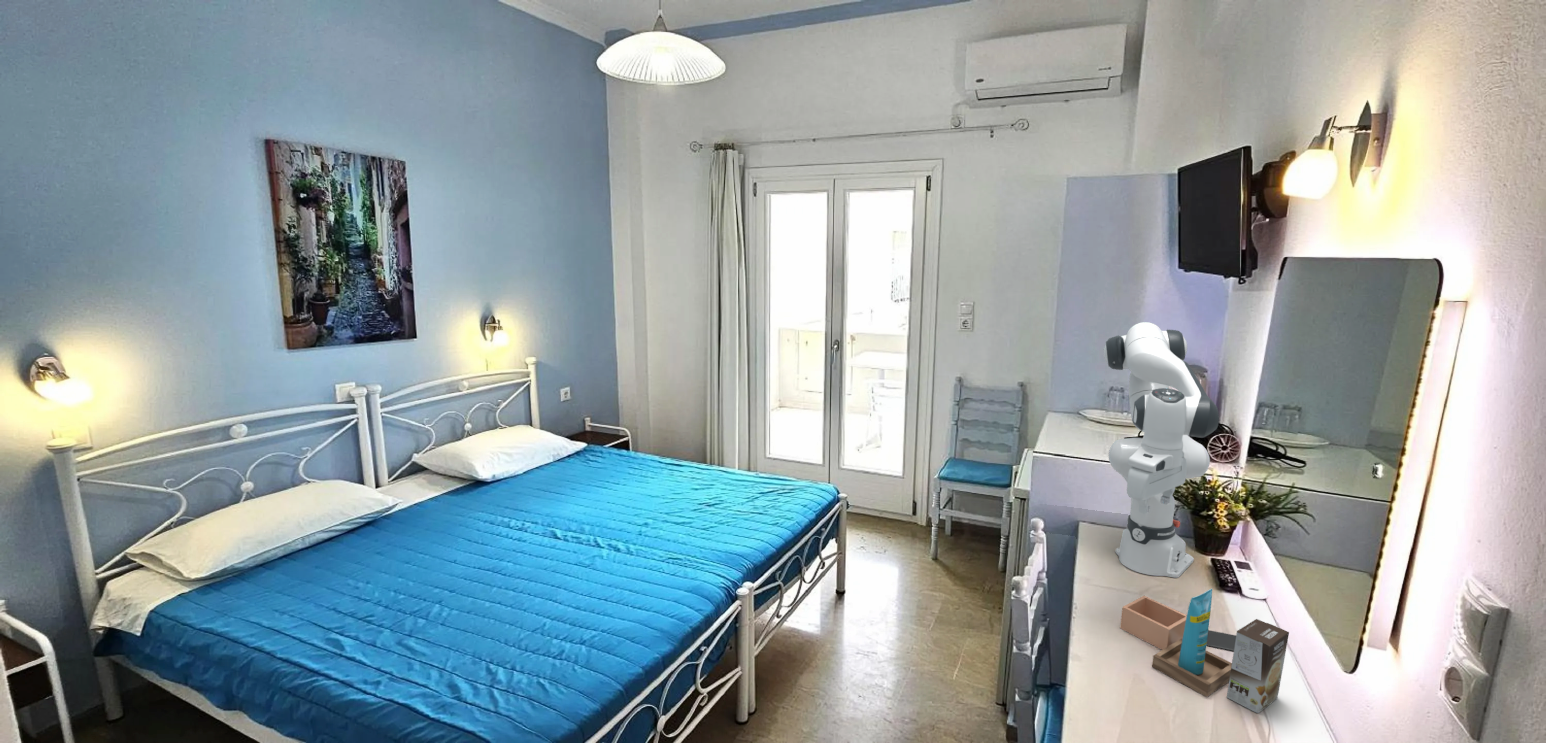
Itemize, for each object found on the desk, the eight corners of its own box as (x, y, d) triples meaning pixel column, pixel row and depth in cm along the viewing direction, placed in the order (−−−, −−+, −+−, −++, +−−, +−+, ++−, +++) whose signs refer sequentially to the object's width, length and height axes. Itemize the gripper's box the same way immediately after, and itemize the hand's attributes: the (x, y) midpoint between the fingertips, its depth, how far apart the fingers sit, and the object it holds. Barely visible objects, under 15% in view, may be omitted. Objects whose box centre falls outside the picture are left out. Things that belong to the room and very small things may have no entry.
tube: (1193, 680, 150) (1204, 602, 145) (1171, 668, 154) (1181, 592, 149) (1210, 668, 154) (1221, 592, 149) (1187, 656, 158) (1198, 582, 153)
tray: (1180, 649, 162) (1181, 638, 161) (1234, 677, 152) (1236, 665, 151) (1151, 666, 156) (1153, 655, 155) (1206, 696, 146) (1208, 684, 145)
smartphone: (1188, 625, 171) (1260, 639, 164) (1188, 628, 171) (1260, 642, 164) (1191, 641, 164) (1266, 656, 158) (1191, 645, 164) (1266, 660, 158)
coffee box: (1259, 715, 140) (1270, 646, 137) (1225, 697, 146) (1235, 631, 142) (1278, 697, 145) (1290, 631, 142) (1245, 681, 150) (1255, 617, 147)
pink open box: (1141, 616, 176) (1144, 595, 174) (1188, 638, 166) (1190, 616, 165) (1120, 628, 171) (1122, 606, 169) (1166, 652, 161) (1169, 629, 160)
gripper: (1171, 443, 173) (1164, 493, 176) (1124, 460, 162) (1118, 513, 166) (1196, 450, 167) (1190, 502, 171) (1150, 468, 157) (1144, 522, 160)
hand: (1154, 507), depth 168 cm, fingers open, 8 cm apart
